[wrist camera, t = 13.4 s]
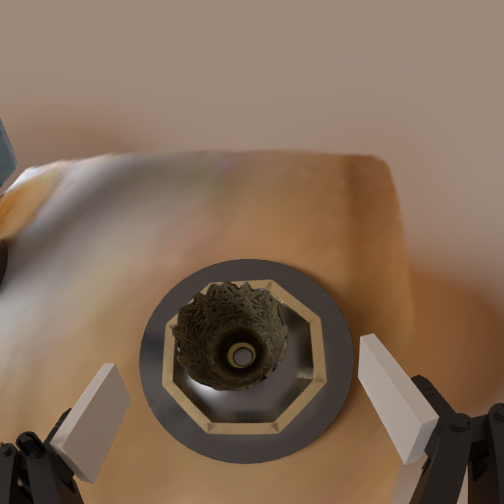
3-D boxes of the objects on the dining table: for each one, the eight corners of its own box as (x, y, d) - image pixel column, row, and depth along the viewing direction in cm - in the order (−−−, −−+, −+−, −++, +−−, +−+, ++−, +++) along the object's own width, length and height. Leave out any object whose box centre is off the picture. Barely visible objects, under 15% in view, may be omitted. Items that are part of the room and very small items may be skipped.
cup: (295, 385, 22) (303, 373, 15) (211, 405, 22) (183, 401, 15) (271, 309, 26) (269, 267, 19) (195, 328, 26) (166, 293, 19)
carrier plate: (111, 353, 26) (101, 349, 24) (242, 233, 32) (240, 222, 31) (246, 499, 17) (244, 506, 16) (389, 344, 24) (397, 339, 22)
